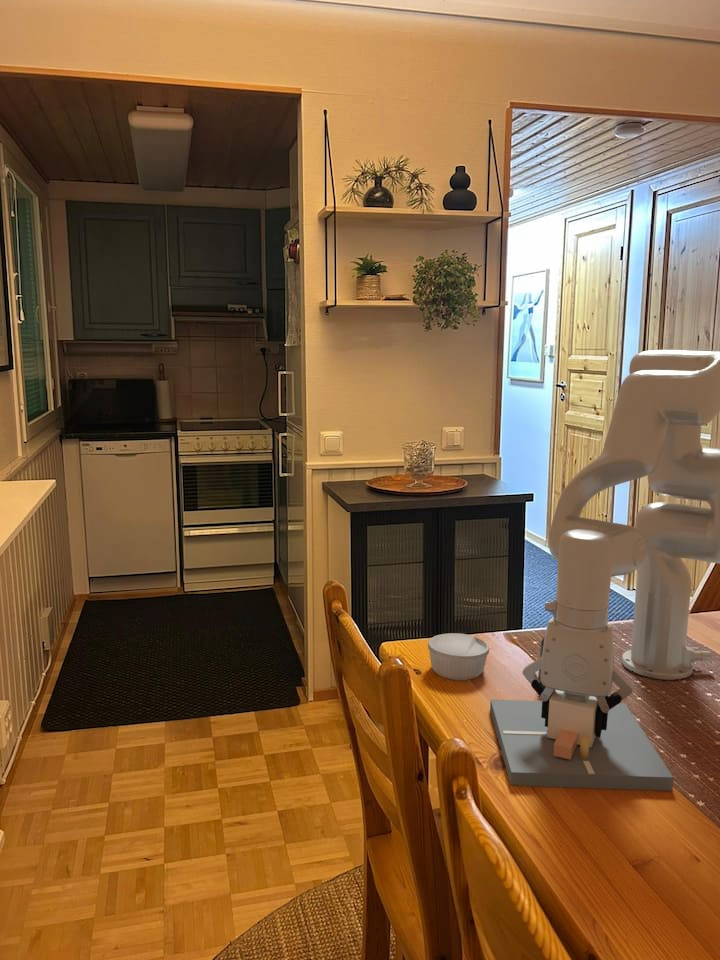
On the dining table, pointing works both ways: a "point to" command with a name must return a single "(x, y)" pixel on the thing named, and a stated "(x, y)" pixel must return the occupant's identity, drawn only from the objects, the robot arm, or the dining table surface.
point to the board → (577, 751)
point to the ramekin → (458, 655)
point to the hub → (570, 722)
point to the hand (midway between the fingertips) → (573, 727)
